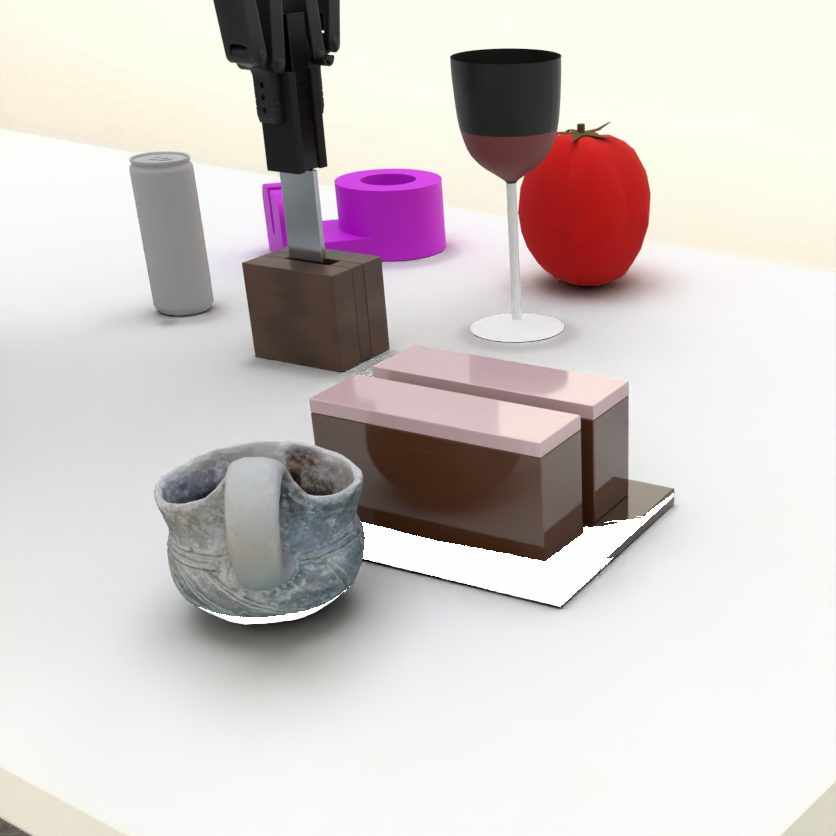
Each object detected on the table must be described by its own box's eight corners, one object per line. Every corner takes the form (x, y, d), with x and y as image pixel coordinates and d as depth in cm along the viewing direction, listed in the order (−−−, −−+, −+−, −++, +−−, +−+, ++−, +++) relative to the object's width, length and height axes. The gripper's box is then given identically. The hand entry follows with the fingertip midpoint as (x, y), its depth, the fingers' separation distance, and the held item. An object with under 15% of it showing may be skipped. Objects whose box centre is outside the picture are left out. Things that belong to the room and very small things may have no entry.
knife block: (255, 356, 100) (241, 262, 96) (305, 334, 104) (293, 243, 101) (342, 372, 97) (331, 276, 93) (389, 348, 102) (381, 256, 98)
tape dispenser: (429, 230, 133) (425, 165, 130) (459, 254, 125) (454, 185, 122) (267, 246, 127) (258, 178, 124) (287, 272, 120) (278, 200, 117)
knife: (287, 294, 98) (254, 11, 89) (302, 288, 100) (271, 9, 90) (320, 300, 97) (290, 14, 87) (335, 294, 98) (307, 12, 89)
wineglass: (453, 340, 103) (434, 62, 93) (484, 308, 111) (470, 47, 100) (552, 347, 102) (545, 65, 92) (577, 314, 109) (573, 50, 99)
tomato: (530, 305, 111) (524, 139, 105) (513, 266, 122) (507, 113, 115) (665, 298, 113) (668, 135, 107) (637, 261, 124) (638, 110, 117)
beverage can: (178, 297, 113) (153, 149, 107) (227, 303, 111) (204, 153, 105) (142, 313, 109) (113, 160, 103) (192, 319, 107) (166, 164, 101)
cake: (273, 538, 73) (253, 404, 69) (415, 450, 84) (405, 330, 80) (560, 608, 67) (556, 465, 63) (674, 503, 78) (677, 375, 74)
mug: (352, 549, 72) (332, 372, 67) (412, 660, 62) (394, 462, 57) (168, 581, 69) (131, 397, 64) (200, 704, 59) (161, 498, 54)
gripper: (220, -239, 75) (272, 194, 87) (375, -224, 86) (402, 156, 98) (119, -238, 77) (182, 182, 89) (282, -223, 89) (319, 146, 101)
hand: (297, 167), depth 94 cm, fingers closed on knife, 2 cm apart
